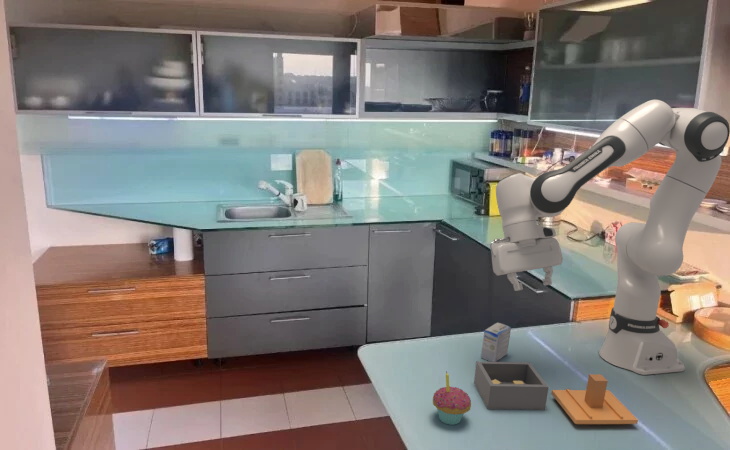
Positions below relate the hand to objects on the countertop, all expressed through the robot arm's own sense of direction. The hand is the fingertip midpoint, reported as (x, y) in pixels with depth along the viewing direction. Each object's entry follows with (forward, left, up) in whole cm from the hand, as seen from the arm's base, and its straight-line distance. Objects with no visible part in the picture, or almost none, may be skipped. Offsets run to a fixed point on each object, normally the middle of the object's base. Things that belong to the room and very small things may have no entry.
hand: (533, 287), depth 147 cm
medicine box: (+5, -9, -24) cm, 26 cm away
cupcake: (+25, +22, -24) cm, 41 cm away
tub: (+8, +12, -24) cm, 28 cm away
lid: (-10, +19, -24) cm, 33 cm away
